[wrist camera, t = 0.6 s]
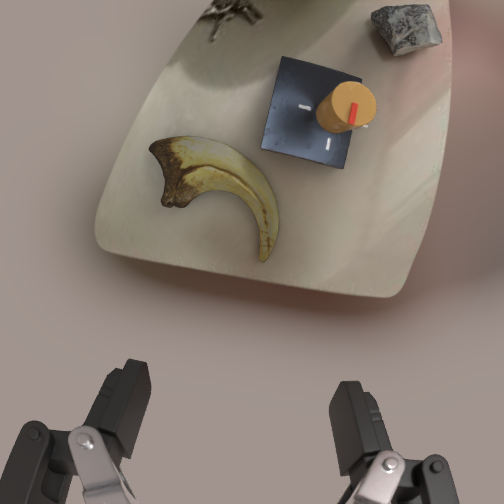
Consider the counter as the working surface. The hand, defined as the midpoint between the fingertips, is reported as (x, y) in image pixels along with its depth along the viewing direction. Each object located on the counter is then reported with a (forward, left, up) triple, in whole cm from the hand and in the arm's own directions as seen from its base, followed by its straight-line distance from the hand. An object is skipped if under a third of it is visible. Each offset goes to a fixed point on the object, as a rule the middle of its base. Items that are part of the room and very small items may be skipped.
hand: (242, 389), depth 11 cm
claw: (-4, -6, -28) cm, 28 cm away
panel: (-16, +3, -27) cm, 32 cm away
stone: (-32, +13, -28) cm, 44 cm away
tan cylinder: (-16, +6, -25) cm, 30 cm away
